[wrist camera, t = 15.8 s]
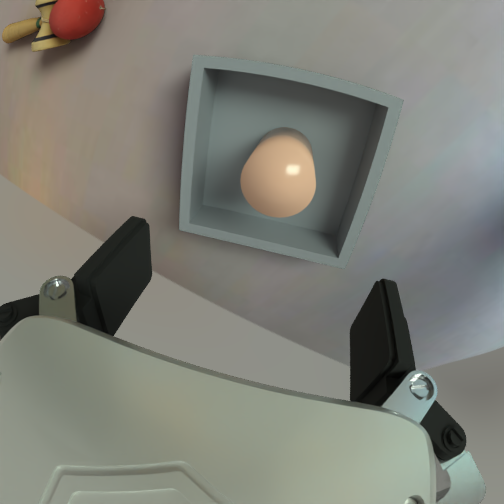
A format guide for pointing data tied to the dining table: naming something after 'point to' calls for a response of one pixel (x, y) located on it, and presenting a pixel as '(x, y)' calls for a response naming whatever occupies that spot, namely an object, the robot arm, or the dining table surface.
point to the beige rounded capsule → (280, 174)
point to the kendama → (58, 22)
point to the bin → (250, 134)
